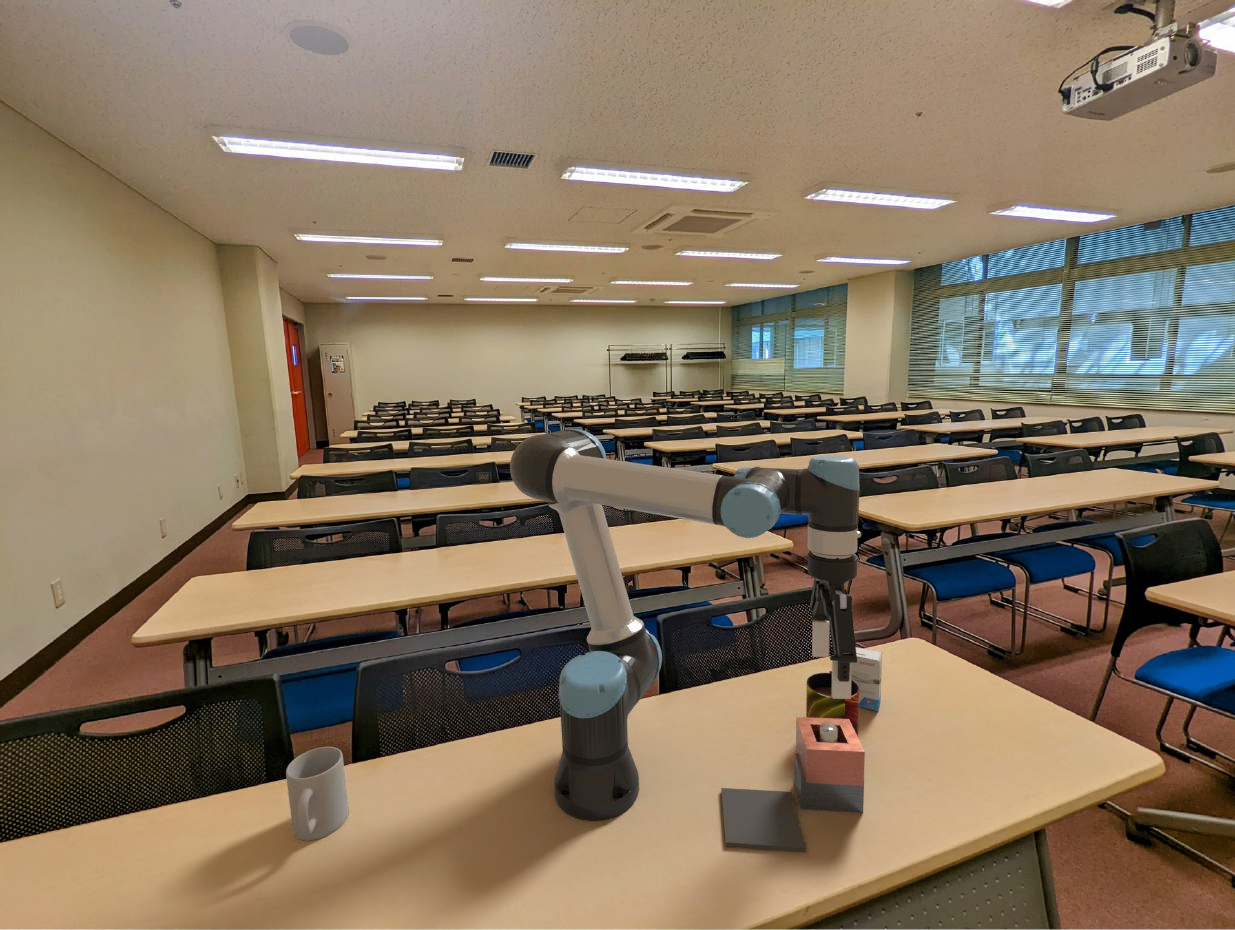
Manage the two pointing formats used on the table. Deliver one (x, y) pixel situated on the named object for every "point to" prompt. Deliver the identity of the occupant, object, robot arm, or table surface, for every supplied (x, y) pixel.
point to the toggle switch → (827, 785)
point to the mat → (761, 820)
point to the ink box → (868, 678)
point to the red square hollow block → (829, 753)
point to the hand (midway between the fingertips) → (830, 675)
